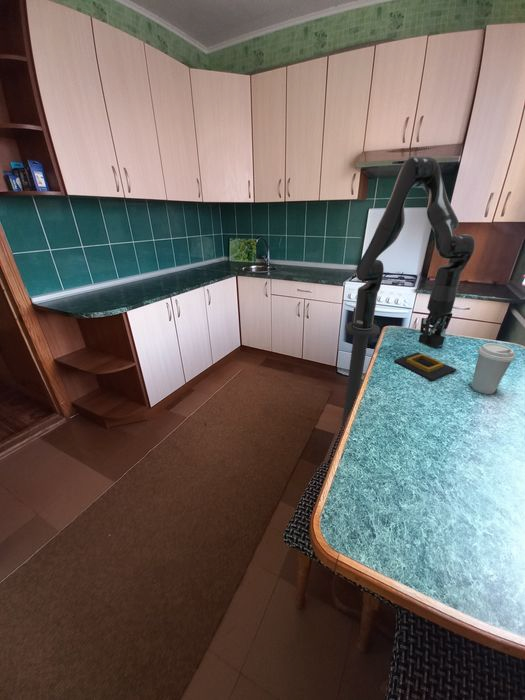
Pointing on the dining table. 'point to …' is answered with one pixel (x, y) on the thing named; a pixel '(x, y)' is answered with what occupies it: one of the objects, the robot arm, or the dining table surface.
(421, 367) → the base pad
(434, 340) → the black block
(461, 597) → the dining table surface
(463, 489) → the dining table surface
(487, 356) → the coffee cup
